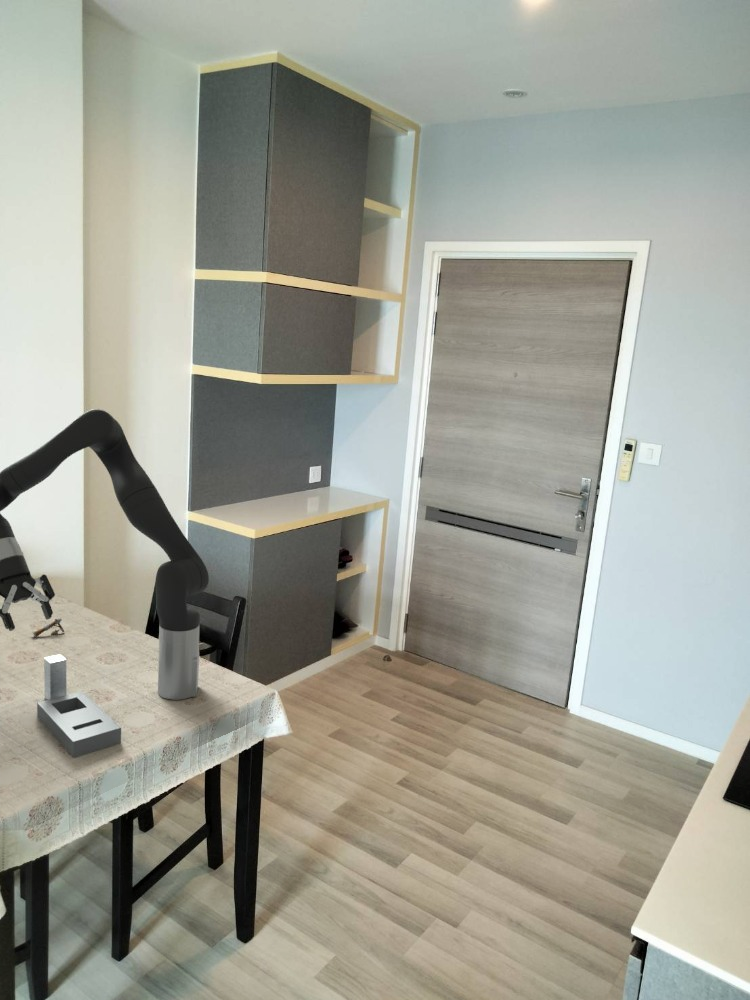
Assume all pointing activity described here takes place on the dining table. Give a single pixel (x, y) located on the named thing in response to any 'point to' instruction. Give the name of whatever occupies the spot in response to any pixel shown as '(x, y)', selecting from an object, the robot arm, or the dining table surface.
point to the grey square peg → (55, 676)
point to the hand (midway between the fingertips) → (31, 624)
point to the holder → (78, 723)
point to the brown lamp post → (57, 621)
